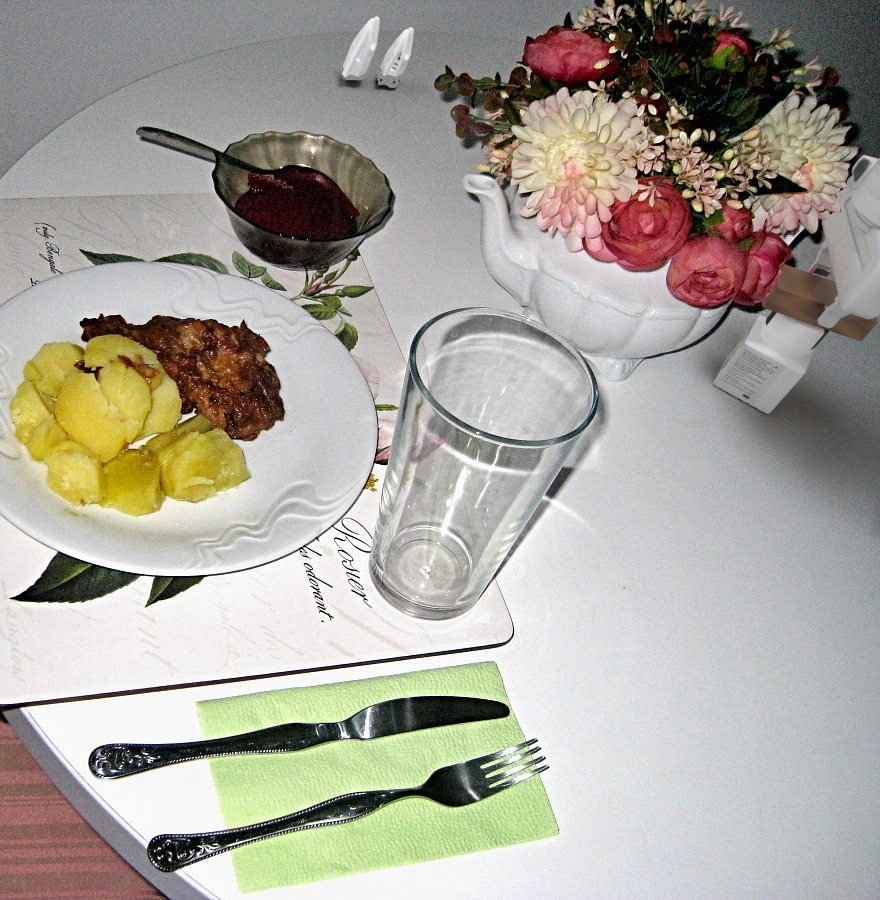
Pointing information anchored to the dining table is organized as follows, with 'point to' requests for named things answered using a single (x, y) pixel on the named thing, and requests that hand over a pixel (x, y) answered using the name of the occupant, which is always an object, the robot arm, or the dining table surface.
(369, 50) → the shaker set
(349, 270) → the dining table surface
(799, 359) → the container
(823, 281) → the wooden brick
